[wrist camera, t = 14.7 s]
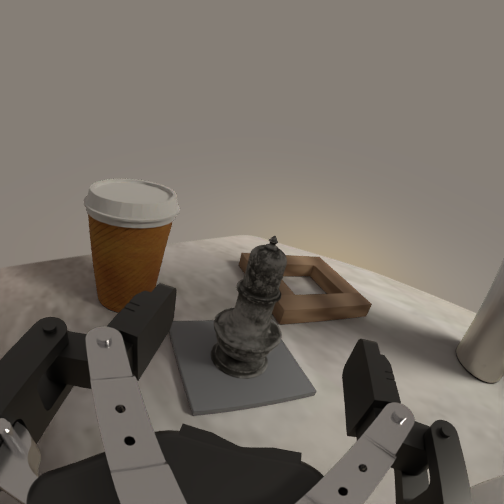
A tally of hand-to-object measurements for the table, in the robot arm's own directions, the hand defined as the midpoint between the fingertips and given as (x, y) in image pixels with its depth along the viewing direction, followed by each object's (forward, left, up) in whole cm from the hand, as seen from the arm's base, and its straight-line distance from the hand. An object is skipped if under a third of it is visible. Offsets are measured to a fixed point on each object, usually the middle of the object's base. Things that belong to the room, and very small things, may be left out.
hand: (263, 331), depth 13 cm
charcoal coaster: (-5, -10, -12) cm, 16 cm away
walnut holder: (-19, -22, -12) cm, 31 cm away
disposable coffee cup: (+5, -20, -12) cm, 24 cm away
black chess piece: (-5, -10, -12) cm, 16 cm away
